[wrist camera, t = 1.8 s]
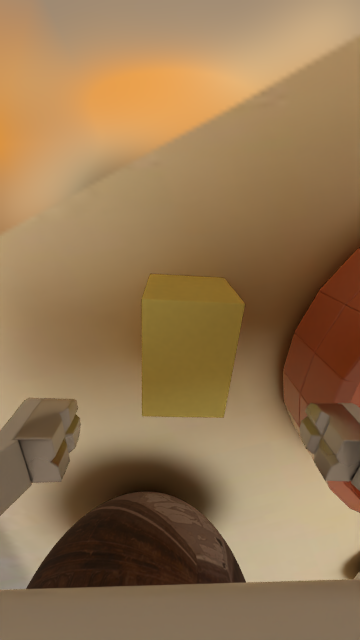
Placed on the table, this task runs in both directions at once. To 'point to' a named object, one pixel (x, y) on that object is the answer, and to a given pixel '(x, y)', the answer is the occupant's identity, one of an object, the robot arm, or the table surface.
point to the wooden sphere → (139, 547)
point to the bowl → (328, 356)
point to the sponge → (188, 345)
